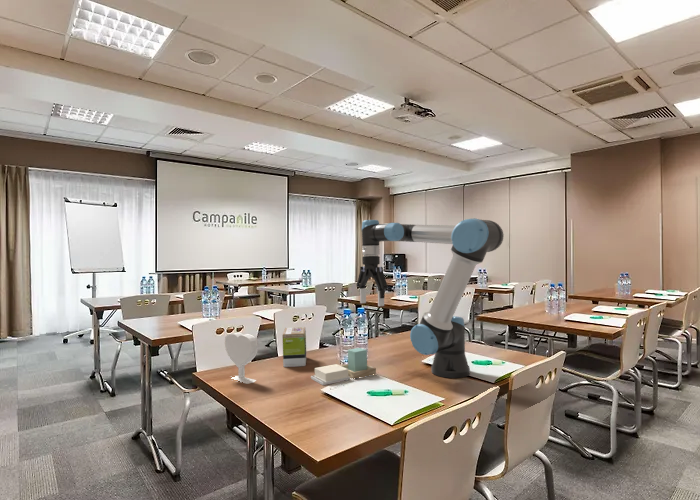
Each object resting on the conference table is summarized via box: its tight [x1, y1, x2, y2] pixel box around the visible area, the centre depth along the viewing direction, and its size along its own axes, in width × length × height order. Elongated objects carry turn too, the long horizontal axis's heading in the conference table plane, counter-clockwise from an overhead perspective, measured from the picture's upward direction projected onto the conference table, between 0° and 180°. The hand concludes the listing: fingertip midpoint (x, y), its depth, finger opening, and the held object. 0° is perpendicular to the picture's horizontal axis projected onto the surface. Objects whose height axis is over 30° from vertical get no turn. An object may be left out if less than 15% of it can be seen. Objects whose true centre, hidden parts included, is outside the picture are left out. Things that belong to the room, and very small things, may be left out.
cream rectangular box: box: [310, 363, 351, 386], centre depth 158 cm, size 10×12×4 cm
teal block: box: [347, 347, 368, 372], centre depth 164 cm, size 5×6×9 cm
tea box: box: [282, 326, 307, 368], centre depth 183 cm, size 15×10×15 cm
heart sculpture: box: [224, 332, 259, 385], centre depth 159 cm, size 16×5×18 cm, turn 56°
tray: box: [341, 363, 377, 380], centre depth 164 cm, size 12×11×3 cm
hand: (371, 304), depth 175 cm, fingers open, 13 cm apart
